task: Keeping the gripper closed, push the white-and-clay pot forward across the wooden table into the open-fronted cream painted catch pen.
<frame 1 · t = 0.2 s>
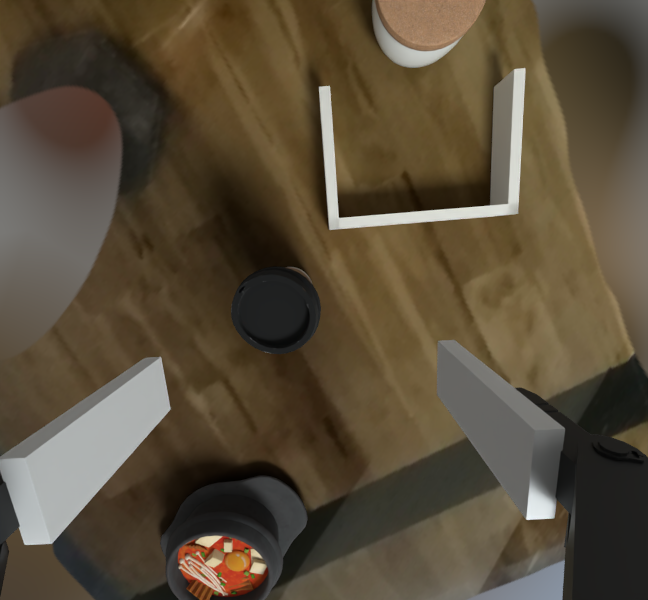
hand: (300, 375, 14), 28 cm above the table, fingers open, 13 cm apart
lidded jar: (409, 35, 36), on the table
catch pen: (412, 161, 38), on the table
coffee cup: (291, 287, 42), on the table
casserole: (236, 519, 50), on the table
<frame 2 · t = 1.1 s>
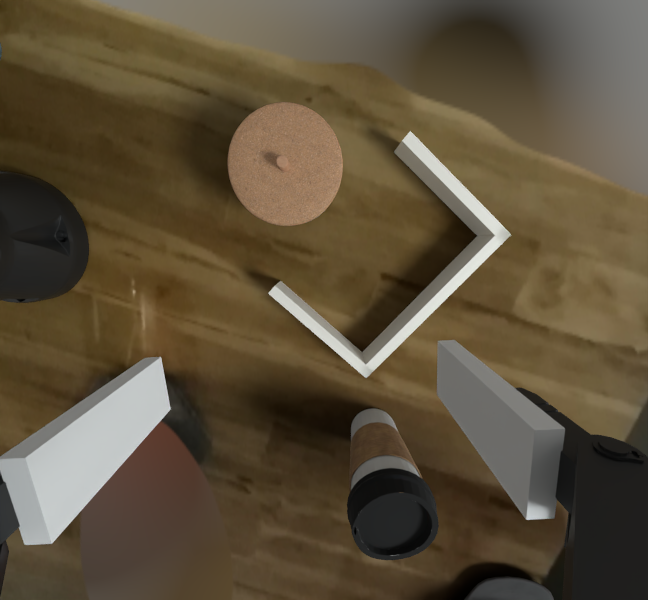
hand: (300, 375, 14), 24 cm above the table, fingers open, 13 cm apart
lidded jar: (294, 181, 35), on the table
catch pen: (380, 262, 37), on the table
coffee cup: (372, 426, 42), on the table
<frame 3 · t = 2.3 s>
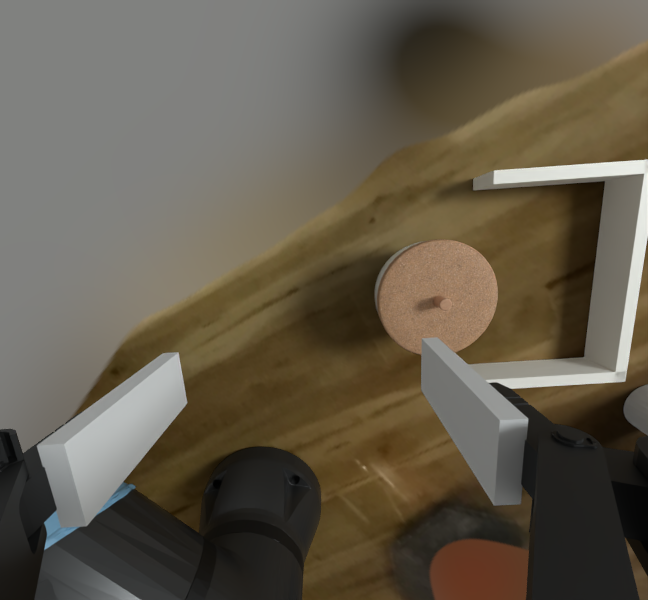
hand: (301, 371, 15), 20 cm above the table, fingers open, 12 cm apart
lidded jar: (412, 286, 35), on the table
catch pen: (536, 278, 34), on the table
coffee cup: (645, 404, 38), on the table
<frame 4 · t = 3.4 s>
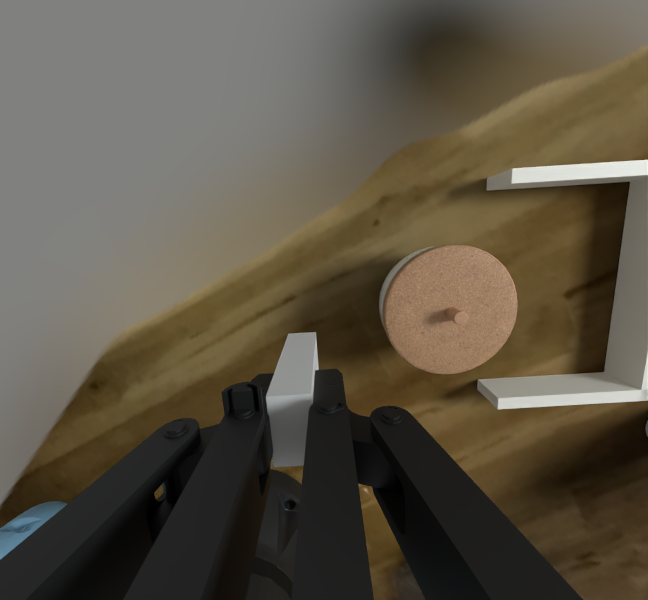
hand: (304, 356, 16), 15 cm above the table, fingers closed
lidded jar: (419, 294, 32), on the table
catch pen: (554, 286, 31), on the table
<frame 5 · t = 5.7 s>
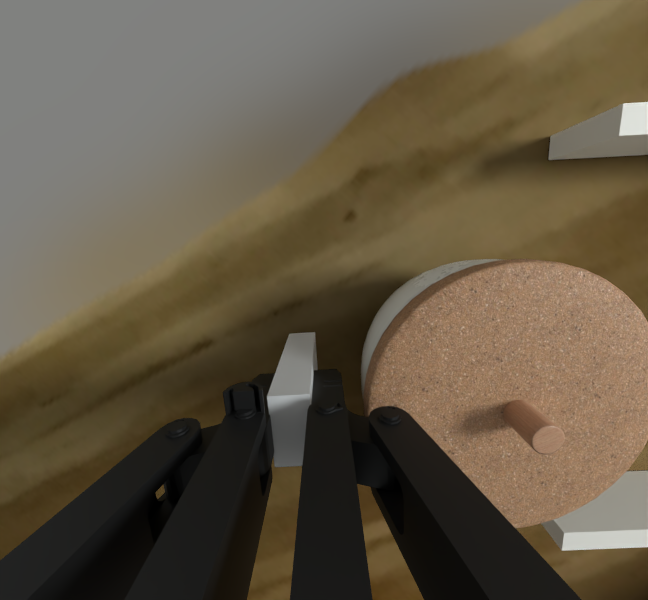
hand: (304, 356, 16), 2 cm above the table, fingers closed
lidded jar: (435, 337, 19), on the table, touching gripper
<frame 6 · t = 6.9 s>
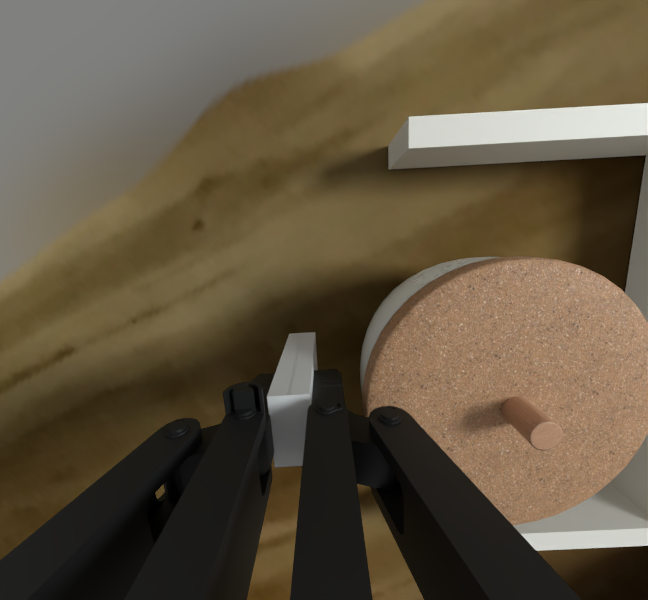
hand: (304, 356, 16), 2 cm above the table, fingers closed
lidded jar: (434, 336, 19), on the table, touching gripper
catch pen: (513, 336, 18), on the table
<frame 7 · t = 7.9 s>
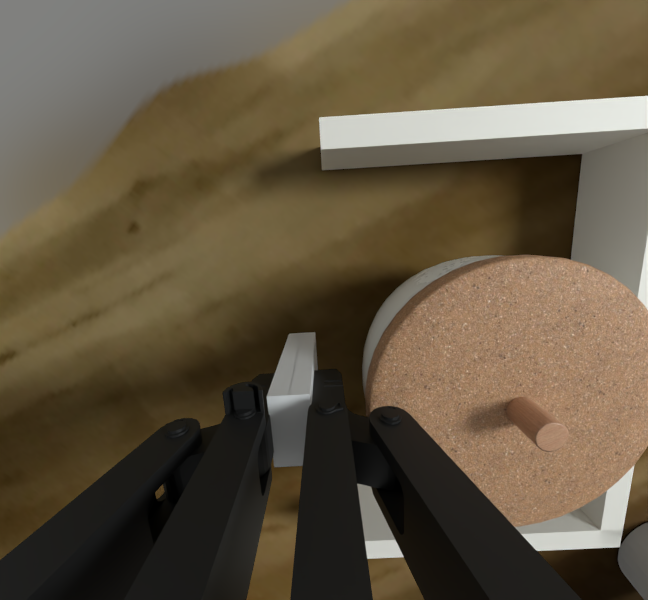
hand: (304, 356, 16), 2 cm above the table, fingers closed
lidded jar: (436, 335, 18), on the table, touching gripper
catch pen: (456, 337, 18), on the table
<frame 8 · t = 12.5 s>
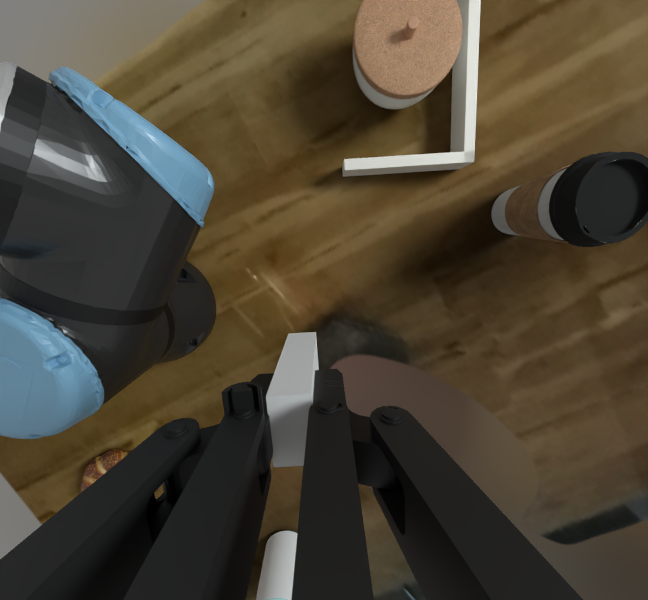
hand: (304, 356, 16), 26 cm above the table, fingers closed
can: (287, 542, 52), on the table
lidded jar: (390, 76, 37), on the table
pretzel: (127, 473, 49), on the table
catch pen: (400, 76, 37), on the table
coffee cup: (512, 211, 41), on the table
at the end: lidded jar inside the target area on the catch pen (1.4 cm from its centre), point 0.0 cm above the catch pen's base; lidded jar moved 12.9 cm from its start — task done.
